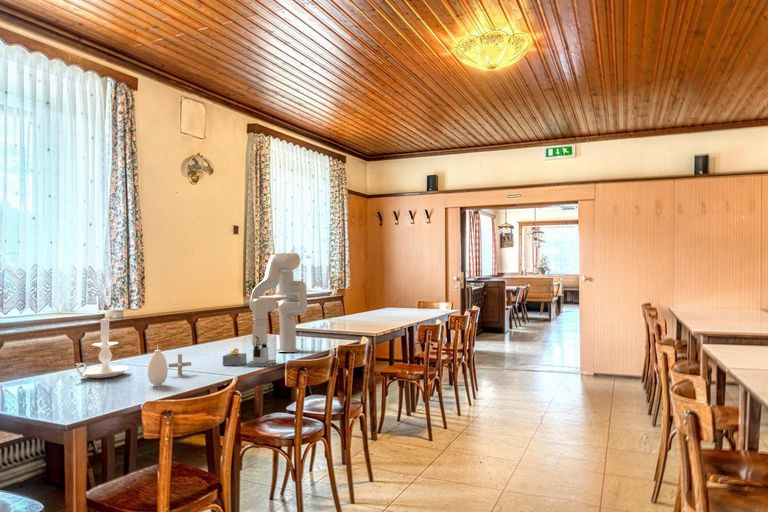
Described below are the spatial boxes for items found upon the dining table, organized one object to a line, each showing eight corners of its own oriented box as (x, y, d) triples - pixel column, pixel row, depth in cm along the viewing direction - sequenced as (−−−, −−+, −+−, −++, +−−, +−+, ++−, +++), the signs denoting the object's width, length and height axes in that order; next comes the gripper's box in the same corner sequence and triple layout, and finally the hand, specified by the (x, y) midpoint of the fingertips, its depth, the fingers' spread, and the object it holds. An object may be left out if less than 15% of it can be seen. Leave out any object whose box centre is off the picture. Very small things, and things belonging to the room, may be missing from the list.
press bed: (254, 362, 276) (254, 359, 276) (275, 362, 274) (275, 360, 274) (245, 367, 264) (245, 364, 264) (267, 367, 263) (267, 364, 263)
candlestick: (61, 381, 237) (61, 319, 238) (110, 371, 260) (109, 314, 260) (91, 384, 228) (90, 320, 229) (139, 374, 251) (138, 315, 251)
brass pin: (232, 357, 274) (232, 348, 274) (239, 357, 274) (239, 348, 274) (230, 358, 271) (229, 349, 271) (236, 358, 270) (236, 349, 270)
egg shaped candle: (146, 388, 218) (146, 345, 219) (149, 384, 226) (149, 343, 226) (166, 387, 220) (166, 344, 221) (168, 383, 228) (168, 342, 228)
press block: (230, 362, 277) (230, 353, 277) (246, 362, 276) (246, 353, 276) (222, 365, 268) (222, 356, 268) (239, 366, 267) (239, 356, 267)
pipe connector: (168, 374, 248) (168, 353, 248) (190, 372, 252) (190, 351, 252) (169, 378, 239) (168, 356, 239) (192, 376, 243) (192, 354, 243)
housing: (257, 360, 273) (257, 347, 273) (268, 360, 272) (268, 347, 272) (253, 362, 267) (252, 349, 267) (264, 363, 266) (264, 349, 266)
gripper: (259, 320, 279) (259, 352, 278) (246, 324, 262) (247, 358, 261) (272, 320, 278) (273, 352, 277) (261, 324, 261) (261, 358, 260)
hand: (260, 355), depth 269 cm, fingers open, 9 cm apart
